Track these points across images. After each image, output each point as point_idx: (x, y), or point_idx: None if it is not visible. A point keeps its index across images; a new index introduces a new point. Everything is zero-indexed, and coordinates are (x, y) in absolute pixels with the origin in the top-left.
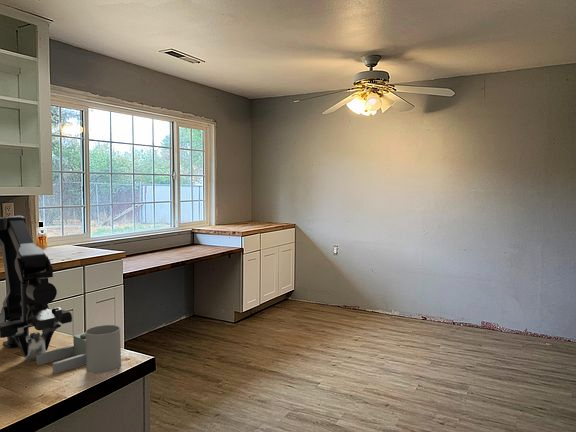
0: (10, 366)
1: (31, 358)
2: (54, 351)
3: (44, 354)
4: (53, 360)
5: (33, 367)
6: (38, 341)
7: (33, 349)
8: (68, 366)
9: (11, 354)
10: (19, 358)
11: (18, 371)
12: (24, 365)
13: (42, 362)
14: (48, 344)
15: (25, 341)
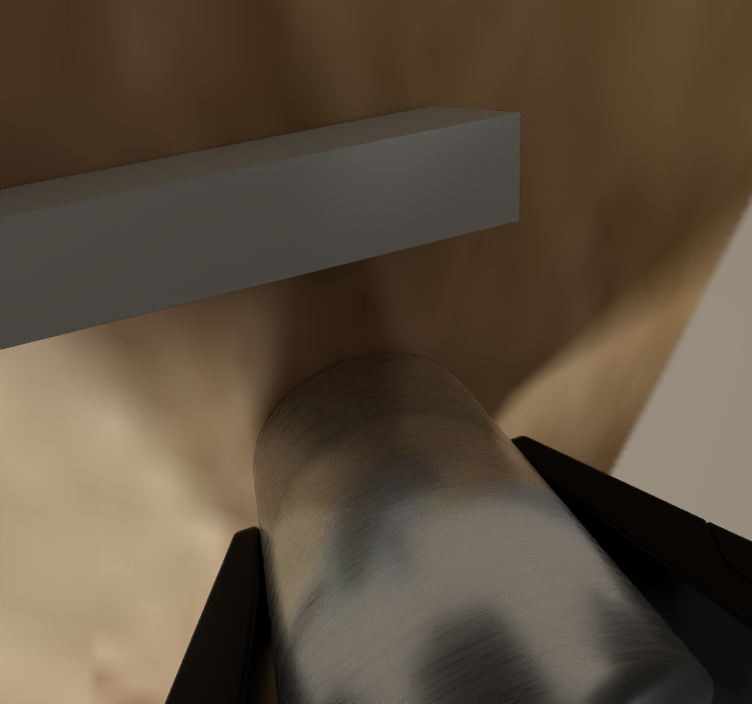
0: (646, 321)
1: (457, 382)
2: (119, 199)
3: (383, 142)
4: (175, 155)
5: (516, 63)
6: (492, 600)
7: (501, 460)
8: None
9: None
10: None
11: (698, 51)
12: (553, 254)
13: (381, 116)
14: (212, 614)
15: (746, 608)
